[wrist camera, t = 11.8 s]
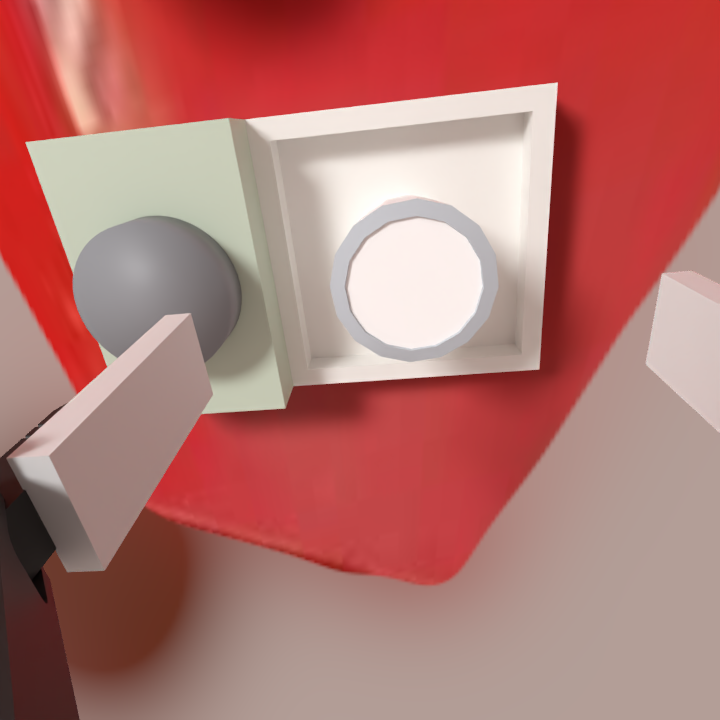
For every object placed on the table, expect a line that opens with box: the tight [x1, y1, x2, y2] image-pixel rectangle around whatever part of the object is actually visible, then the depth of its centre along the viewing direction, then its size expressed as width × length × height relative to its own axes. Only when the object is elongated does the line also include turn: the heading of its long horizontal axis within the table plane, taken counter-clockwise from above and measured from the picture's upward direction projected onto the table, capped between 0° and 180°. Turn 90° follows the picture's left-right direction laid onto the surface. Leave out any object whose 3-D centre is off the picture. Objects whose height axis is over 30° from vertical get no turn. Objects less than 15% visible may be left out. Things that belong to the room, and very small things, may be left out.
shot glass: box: [330, 194, 499, 362], centre depth 23 cm, size 7×7×7 cm
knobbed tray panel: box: [26, 83, 558, 414], centre depth 24 cm, size 14×23×7 cm, turn 96°
